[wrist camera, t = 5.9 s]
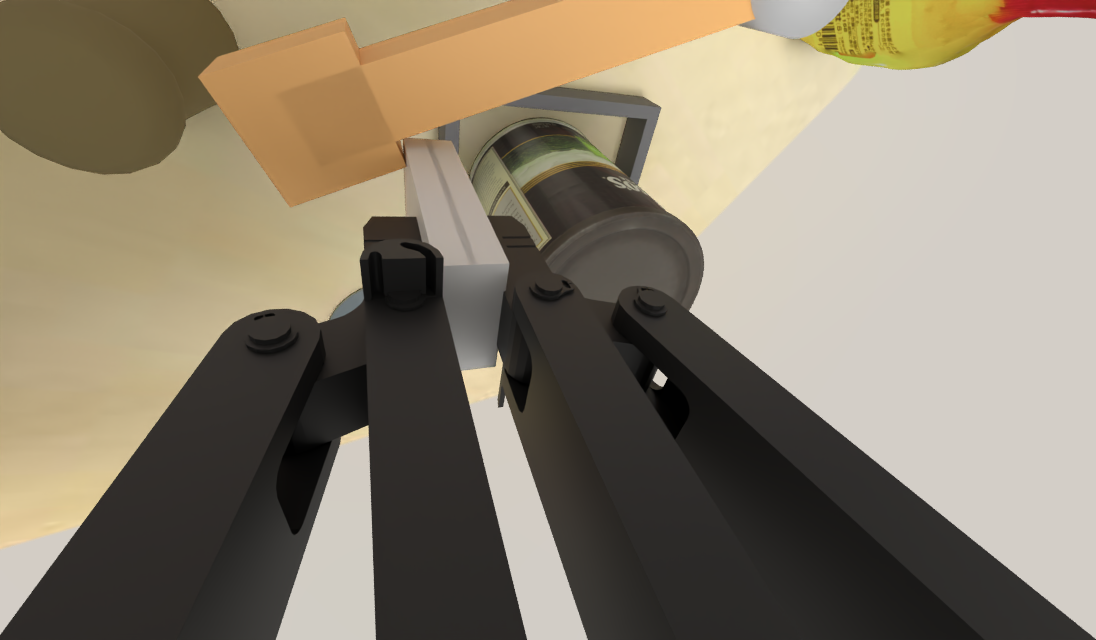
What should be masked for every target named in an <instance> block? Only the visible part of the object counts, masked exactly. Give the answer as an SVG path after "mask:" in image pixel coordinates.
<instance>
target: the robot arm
mask: <svg viewBox="0 0 1096 640" xmlns="http://www.w3.org/2000/svg"><path fill="white" fill-rule="evenodd" d="M403 152H404V158H405V162H406V166H407V167H405V168H404V182H405V211H406V217H372V218H371V219H370V220H369V221H368V222H367V224H366V225H365V226H364V227H363V233H364V251H363V252H362V255H361V257H360V267H361V276H362V285H363V294H364V299H363V301H362V303H361V304H360V305H359V306H358V307H357V308H355V309H354V310H353V311H351V312H349V313H347V314H346V315H344V316H341V317H338V318H335V319H333V320H329V321H325V322H322V323H317V321H316V319H315V318H313V317H311V316H310V315H308V314H306V313H305V312H301V311H296V310H291V309H272V310H266V311H262V312H258V313H254V314H250V315H248V316H246V317H244V318H242V319H240V320H238V321H236V322H234V323H233V324H232V325H231V326H230V327H229V328H228V329H227V330H225V331H224V332H223V333H222V335H221V336H220V337H219V339H218V340H217V341H216V343H215V344H214V346H213V347H212V348H211V350H210V351H209V352H208V354H207V355H206V356H205V358H204V359H203V360H202V362H201V363H200V365H199V366H198V367H197V369H196V370H195V371H194V373H193V374H192V375H191V377H190V378H189V379H188V381H187V382H186V384H185V385H184V386H183V388H182V389H181V390H180V392H179V393H178V394H177V396H176V397H175V398H174V400H173V401H172V403H171V404H170V405H169V407H168V408H167V409H166V411H165V412H164V413H163V415H162V416H161V417H160V419H159V420H158V422H157V423H156V424H155V426H154V427H153V428H152V430H151V431H150V432H149V434H148V435H147V436H146V438H145V439H144V441H143V442H142V443H141V445H140V446H139V447H138V449H137V450H136V451H135V453H134V454H133V455H132V457H131V458H130V460H129V461H128V462H127V464H126V465H125V466H124V468H123V469H122V470H121V472H120V473H119V474H118V476H117V477H116V479H115V480H114V481H113V483H112V484H111V485H110V487H109V488H108V489H107V491H106V492H105V493H104V495H103V496H102V498H101V499H100V500H99V502H98V503H97V504H96V506H95V507H94V508H93V510H92V511H91V512H90V514H89V515H88V517H87V518H86V519H85V521H84V522H83V523H82V525H81V526H80V528H79V529H78V530H77V532H76V533H75V534H74V536H73V537H72V538H71V540H70V541H69V542H68V544H67V545H66V546H65V548H64V549H63V551H62V552H61V553H60V555H59V556H58V557H57V559H56V560H55V562H54V563H53V564H52V566H51V567H50V568H49V570H48V571H47V572H46V574H45V575H44V576H43V578H42V579H41V580H40V582H39V583H38V585H37V586H36V587H35V589H34V590H33V591H32V593H31V594H30V595H29V597H28V598H27V599H26V601H25V602H24V603H23V605H22V606H21V608H20V609H19V610H18V612H17V613H16V614H15V616H14V617H13V618H12V620H11V621H10V622H9V624H8V625H7V627H6V628H5V629H4V631H3V632H2V633H1V635H0V640H276V637H277V634H278V631H279V628H280V625H281V622H282V618H283V616H284V612H285V610H286V606H287V603H288V600H289V597H290V594H291V591H292V588H293V585H294V582H295V579H296V576H297V573H298V570H299V567H300V564H301V561H302V558H303V554H304V552H305V549H306V546H307V543H308V540H309V536H310V533H311V530H312V527H313V524H314V521H315V518H316V515H317V512H318V509H319V506H320V503H321V500H322V497H323V494H324V491H325V487H326V485H327V482H328V479H329V476H330V472H331V469H332V466H333V463H334V460H335V457H336V454H337V451H338V448H339V445H340V440H341V436H344V435H346V434H348V433H351V432H353V431H355V430H358V429H360V428H362V427H365V426H367V425H369V451H370V478H371V479H370V480H371V507H372V508H371V509H372V538H373V565H374V595H375V622H376V623H375V624H376V640H527V638H526V634H525V630H524V625H523V621H522V617H521V613H520V609H519V605H518V601H517V597H516V593H515V589H514V585H513V581H512V577H511V573H510V569H509V564H508V560H507V556H506V552H505V548H504V544H503V540H502V536H501V532H500V528H499V524H498V520H497V516H496V511H495V507H494V503H493V499H492V495H491V491H490V487H489V483H488V479H487V475H486V471H485V467H484V463H483V458H482V454H481V450H480V446H479V442H478V438H477V434H476V430H475V426H474V422H473V418H472V414H471V410H470V406H469V401H468V397H467V393H466V389H465V385H464V381H463V377H462V373H461V371H462V370H470V369H478V368H486V367H495V366H496V359H497V352H498V350H499V353H500V356H501V359H502V362H503V367H502V374H501V381H500V387H499V394H498V407H503V403H504V398H505V395H506V398H507V401H508V404H509V407H510V410H511V413H512V416H513V419H514V422H515V425H516V428H517V431H518V434H519V437H520V440H521V443H522V446H523V449H524V452H525V454H526V458H527V461H528V463H529V466H530V469H531V472H532V475H533V478H534V481H535V484H536V487H537V490H538V493H539V496H540V499H541V502H542V505H543V508H544V511H545V514H546V517H547V520H548V523H549V525H550V529H551V532H552V535H553V538H554V541H555V543H556V546H557V549H558V552H559V555H560V558H561V561H562V564H563V567H564V570H565V573H566V576H567V579H568V582H569V585H570V588H571V591H572V594H573V597H574V600H575V603H576V606H577V609H578V612H579V615H580V618H581V621H582V624H583V627H584V630H585V632H586V635H587V638H588V640H1096V639H1095V638H1093V637H1092V636H1091V635H1090V634H1089V633H1087V632H1086V631H1085V630H1084V629H1082V628H1081V627H1080V626H1078V625H1077V624H1076V623H1075V622H1074V621H1073V620H1071V619H1070V618H1069V617H1067V616H1066V615H1065V614H1064V613H1062V612H1061V611H1060V610H1059V609H1057V608H1056V607H1055V606H1054V605H1053V604H1051V603H1050V602H1049V601H1048V600H1046V599H1045V598H1044V597H1043V596H1041V595H1040V594H1039V593H1038V592H1036V591H1035V590H1034V589H1033V588H1032V587H1030V586H1029V585H1028V584H1027V583H1025V582H1024V581H1023V580H1022V579H1020V578H1019V577H1018V576H1017V575H1015V574H1014V573H1013V572H1012V571H1010V570H1009V569H1008V568H1007V567H1006V566H1004V565H1003V564H1002V563H1001V562H999V561H998V560H997V559H996V558H994V557H993V556H992V555H991V554H989V553H988V552H987V551H986V550H984V549H983V548H982V547H981V546H979V545H978V544H977V543H976V542H974V541H973V540H972V539H971V538H970V537H968V536H967V535H966V534H965V533H963V532H962V531H961V530H960V529H958V528H957V527H956V526H955V525H953V524H952V523H951V522H949V521H948V520H947V519H946V518H945V517H944V516H942V515H941V514H940V513H938V512H937V511H936V510H935V509H933V508H932V507H931V506H930V505H929V504H927V503H926V502H925V501H924V500H922V499H921V498H920V497H919V496H917V495H916V494H915V493H914V492H912V491H911V490H910V489H909V488H908V487H906V486H905V485H904V484H902V483H901V482H900V481H899V480H897V479H896V478H895V477H894V476H893V475H891V474H890V473H889V472H888V471H886V470H885V469H884V468H882V467H881V466H880V465H879V464H878V463H876V462H875V461H874V460H873V459H871V458H870V457H869V456H868V455H866V454H865V453H864V452H863V451H862V450H860V449H859V448H858V447H857V446H855V445H854V444H853V443H852V442H850V441H849V440H848V439H847V438H846V437H844V436H843V435H842V434H840V433H839V432H838V431H837V430H835V429H834V428H833V427H832V426H831V425H829V424H828V423H827V422H826V421H824V420H823V419H822V418H821V417H819V416H818V415H817V414H816V413H814V412H813V411H812V410H811V409H810V408H808V407H807V406H806V405H805V404H803V403H802V402H801V401H800V400H798V399H797V398H796V397H795V396H793V395H792V394H791V393H790V392H788V391H787V390H786V389H785V388H783V387H782V386H781V385H780V384H779V383H777V382H776V381H775V380H774V379H772V378H771V377H770V376H769V375H767V374H766V373H765V372H763V371H762V370H761V369H760V368H759V367H757V366H756V365H755V364H754V363H752V362H751V361H750V360H749V359H747V358H746V357H745V356H744V355H742V354H741V353H740V352H739V351H738V350H736V349H735V348H734V347H733V346H731V345H730V344H729V343H728V342H726V341H725V340H724V339H723V338H721V337H720V336H719V335H718V334H716V333H715V332H714V331H713V330H712V329H710V328H709V327H708V326H707V325H705V324H704V323H703V322H702V321H700V320H699V319H698V318H696V317H695V316H694V315H693V314H692V313H690V312H689V311H688V310H687V309H685V308H684V307H683V306H682V305H681V304H679V303H678V302H677V301H676V300H674V299H673V298H672V297H670V296H668V295H667V294H665V293H664V292H662V291H659V290H657V289H654V288H652V287H646V286H630V287H627V288H625V289H623V290H622V291H621V292H620V294H619V296H618V299H617V302H616V303H612V302H605V301H598V300H592V299H588V298H584V296H583V295H582V293H581V292H580V290H579V288H578V287H577V286H576V285H575V284H574V283H573V282H572V281H571V280H569V279H567V278H565V277H563V276H562V275H558V274H555V273H552V272H551V270H550V268H549V267H548V265H547V263H546V262H545V260H544V258H543V256H542V255H541V253H540V251H539V250H538V248H537V247H536V244H535V243H534V241H533V239H532V238H531V236H530V234H529V232H528V231H527V229H526V227H525V226H524V225H523V224H522V223H521V222H519V221H518V220H516V219H515V218H514V217H512V216H487V215H486V213H485V211H484V209H483V207H482V204H481V202H480V200H479V198H478V196H477V194H476V192H475V190H474V187H473V185H472V183H471V181H470V179H469V177H468V175H467V173H466V171H465V168H464V166H463V164H462V162H461V160H460V158H459V156H458V154H457V152H456V149H455V147H454V145H453V143H452V141H446V140H431V139H415V138H405V139H403ZM657 369H659V370H660V371H661V372H662V373H663V374H664V375H665V376H666V377H667V378H668V379H667V381H666V383H665V385H664V386H663V387H661V386H659V385H657V384H656V383H655V382H654V381H653V378H654V376H655V374H656V371H657Z"/></svg>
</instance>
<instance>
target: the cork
mask: <svg viewBox="0 0 1096 640" xmlns="http://www.w3.org/2000/svg"><path fill="white" fill-rule="evenodd" d="M235 51H238V47H237V43H236V40H235V37H234V34H233V32H232V30H231V29H230V27H229V26H228V24H227V22H226V21H225V19H224V18H223V16H222V14H221V13H220V11H219V10H218V9H217V8H216V7H215V6H214V5H213V4H212V3H211V2H210V1H209V0H5V1H2V2H0V130H1V131H2V132H3V133H4V134H5V135H6V136H7V137H8V138H10V139H11V140H13V141H15V142H16V143H18V144H20V145H21V146H23V147H24V148H26V149H28V150H29V151H31V152H33V153H34V154H36V155H38V156H40V157H43V158H45V159H48V160H51V161H53V162H56V163H58V164H61V165H63V166H66V167H69V168H72V169H77V170H82V171H87V172H93V173H98V174H125V173H132V172H135V171H138V170H141V169H144V168H147V167H150V166H153V165H156V164H159V163H160V162H161V161H162V160H163V159H165V158H166V157H167V156H168V155H169V154H170V153H171V152H172V151H174V150H175V148H176V147H177V145H178V144H179V141H180V139H181V136H182V134H183V131H184V129H185V126H186V123H185V120H186V119H188V118H190V117H192V116H193V115H195V114H197V113H199V112H201V111H203V110H205V109H207V108H209V107H211V106H213V105H215V104H217V103H216V102H215V100H214V99H213V97H212V96H211V95H210V93H209V92H208V90H207V89H206V88H205V86H204V85H203V83H202V82H201V80H200V79H199V78H198V76H199V75H200V74H201V73H202V72H203V71H204V70H205V69H206V68H207V67H208V66H209V65H210V64H211V63H212V62H213V61H214V60H215V59H216V58H217V57H218V56H222V55H225V54H228V53H231V52H235Z"/></svg>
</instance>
